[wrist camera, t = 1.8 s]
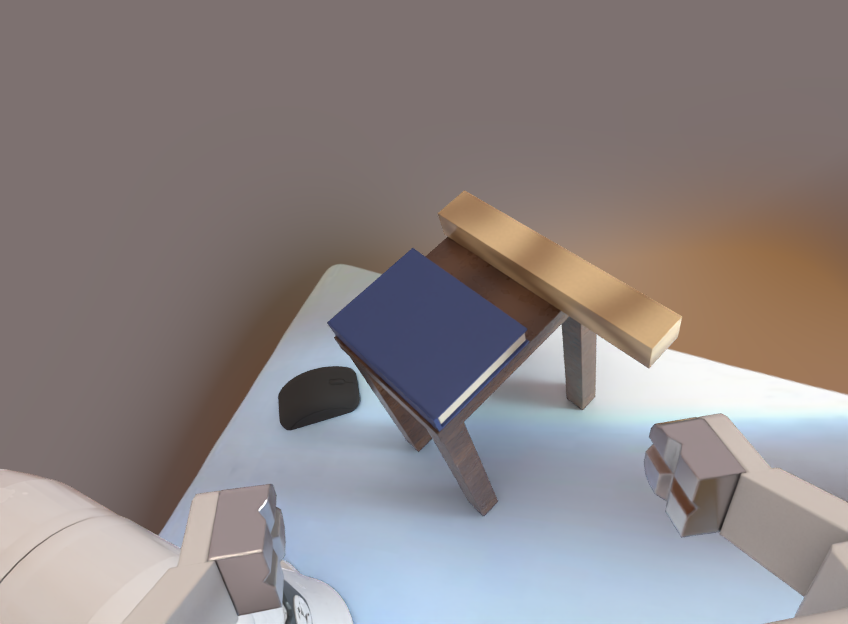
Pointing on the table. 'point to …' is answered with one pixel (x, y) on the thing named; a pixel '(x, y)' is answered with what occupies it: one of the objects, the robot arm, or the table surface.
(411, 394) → the book
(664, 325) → the wooden block
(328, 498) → the table surface
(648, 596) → the table surface
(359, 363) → the stool
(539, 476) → the table surface
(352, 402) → the computer mouse
